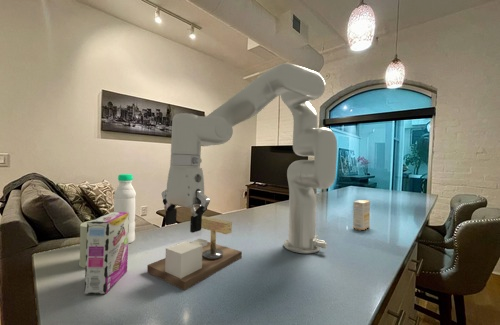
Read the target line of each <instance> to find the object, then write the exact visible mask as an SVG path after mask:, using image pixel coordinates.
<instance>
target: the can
mask: <svg viewBox="0 0 500 325" xmlns="http://www.w3.org/2000/svg"><path fill="white" fill-rule="evenodd" d="M92 220H93V219H92ZM92 220H88V221H84V222H81V223H80V225H79V228H80V229H79V232H80V234H79V240H80V241H79V262H78V265H79V267H80V268H83V269H85V268H86V242H87V222H89V221H92Z"/></svg>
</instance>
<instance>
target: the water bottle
mask: <svg viewBox="0 0 500 325" xmlns="http://www.w3.org/2000/svg"><path fill="white" fill-rule="evenodd" d="M133 179H134V176H133V174H130V173H129V174H128V173H121V174H119V175H118V176H117V180H118V183H119V185H118V186H117V188H116V189H115V192H114V194H113V197H114V203H113V212H127V213H129V233H128V245H129V244H132V243H133V242H134V241H135V240H136V233H135V230H136V221H135V220H136V210H137V209H136V197H137V192H136V190H135V188H134V186H133V185H132V182H133Z"/></svg>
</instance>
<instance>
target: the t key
mask: <svg viewBox="0 0 500 325" xmlns="http://www.w3.org/2000/svg"><path fill="white" fill-rule="evenodd" d="M232 224H233V222H232V221H228V220H223V219H220V218H214V217H209V216H205V215H202V225H201V229H203V230H207V231H210V241H209V242H210V249H209V250H206V251H204V252H203V258H204V259H206V260H218V259H221V258H222V257H223V251H221V250H219V249H216V244H217V233H219V234H223V235H228V234H231V233H232V232H233V231H232V228H233V225H232Z"/></svg>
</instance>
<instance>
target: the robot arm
mask: <svg viewBox="0 0 500 325" xmlns="http://www.w3.org/2000/svg"><path fill="white" fill-rule="evenodd" d="M325 90H326V82H325V79H324V78H323V76H322V75H321V74H320V73H319V72H317V71H315V70H312V69H309V68H306V67H304V66H300V65H297V64H294V63H287V62H284V63H280V64H278V65H276V66H274V67H272V68H270V69H269V70H266V71H264V72H263V73H261V74H260V75H259V76H258V77H256V78H255V79H254V80H253V81H251V82H250V83H249V84H247V86H244V88H242V89H241V90H239V91H238V92H237V93H236V94H234V95H233V96H232V97H231V98H229V99H228V100H227V101H225V102H224V103H222V104H221V105H220V106H219V107H216V109H214V110H213V111H212V112H211V113H209V114H208V115H207V116H202V115H201V116H200V115H196V114H193V113H188V112H187V113H186V112H183V113H182V112H180V113H176V114H174V115H173V117H172V121H171V139H170V140H171V142H170V144H171V145H170V162H169V163H170V165H169V166H170V167H169V170H168V175H167V180H166V189H165V190H164V191H162V192H161V196H162V197H161V198H162V203H163V205H164V206H163V208H164V210H165V214H164V215H165V216H164V219H165V220H164V225H165V226H172V225H175V224H177V216H178V215H177V211H178V208H176V207H184V208H189V210H190V213H191V214H192V215H191V216H190V225H189V231H190V233H192V234H193V233H197V232H200V231H201V230H202V228H201V225H202V216H205V213H206V211H207V210H208V206H209V204H210V203H211V200H210V198H209V197H208V196H207V195H206V194H205V179H204V172H203V171H204V170H203V168H202V167H201V163H202V158H201V154H202V152H201V151H202V146H204V147H210V146H221V145H224V144H225V143H228V142H229V141H230V140H231V138H232V136H233V133H234V129H233V127H235V126H237V125H239V124H240V123H242V122H245V121H248V120H250V119H252V118H253V117H255V116H257V115H258V114H259V113H260V112H261V111H262V110H264V109H265V107H267V106H268V105H269V104H270V103H271V102H272V101H274V100H275V99H276V98H277V97H280V99H281V101H282V102H283V103H284V104H285V105H286V107H287V108H288V109H289V111H290V112H291V114H292V118H293V119H292V120H293V126H292V127H293V128H292V129H293V130H292V131H293V132H292V150H293V153H294V154H295V155H297V156H300V157H313V158H314V159H313V160H312V159H300V160H295V161H293V162H292V163H291V164H289V166H288V168H287V171H286V177H287V182H288V183H287V184H288V192H289V193H288V194H289V195H288V196H289V198H288V201H289V203H288V234H287V236H288V238H287V239H285V241H284V242H283V247H284V248H285V249H286V250H288V251H290V252H294V253H299V254H314V253H317V252H319V251H320V248H321V249H325V250H327V248H328V242H326V240H321V239H319V235H318V234H316V224H317V223H316V221H317V220H316V216H317V196H316V193H315V190H314V189H318V190H326V189H329V188H331V187H332V186H333V185H334V182H335V180H336V175H337V174H336V173H337V155H338V141H337V138H336V137H337V136H336V134H335V132H334V131H332V130H331V129H330V128H327V127H318V114H317V111H316V109H315V108H314V107H313V106H312V104H311V103H310V102H311V101H315V100H317V99H319V98H320V97H322V96H323V94H324V93H325Z"/></svg>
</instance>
